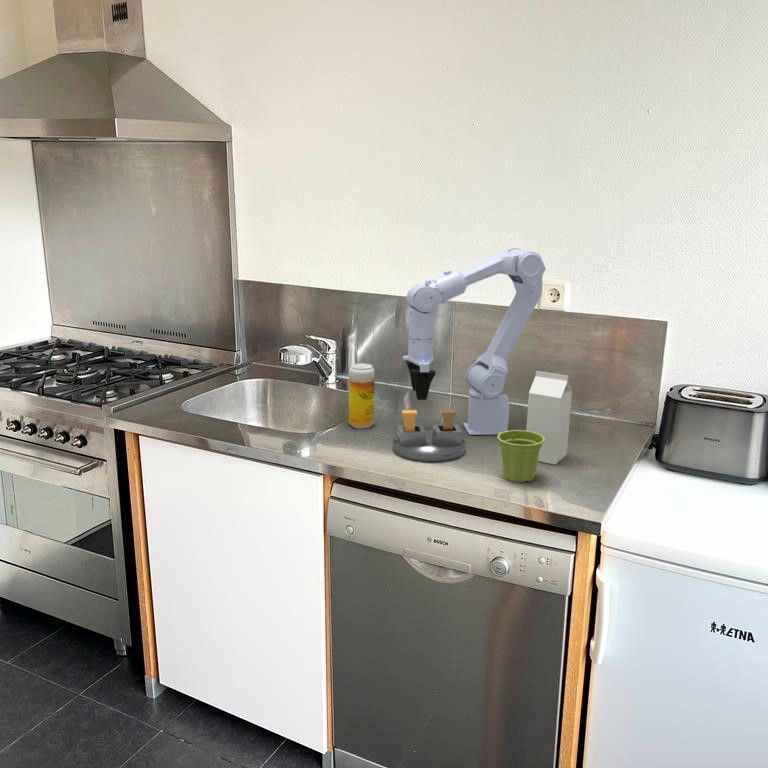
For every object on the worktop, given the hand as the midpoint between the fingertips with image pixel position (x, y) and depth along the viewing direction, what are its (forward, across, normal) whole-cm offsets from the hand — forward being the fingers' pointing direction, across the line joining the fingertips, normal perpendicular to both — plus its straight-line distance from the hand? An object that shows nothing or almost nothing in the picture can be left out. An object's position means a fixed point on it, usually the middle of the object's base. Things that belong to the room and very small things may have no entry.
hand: (419, 394), depth 178 cm
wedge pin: (+8, +10, -4) cm, 13 cm away
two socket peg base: (+10, +10, +1) cm, 14 cm away
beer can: (+10, -8, -13) cm, 18 cm away
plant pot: (+10, +27, +17) cm, 33 cm away
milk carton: (+10, +16, +26) cm, 32 cm away
